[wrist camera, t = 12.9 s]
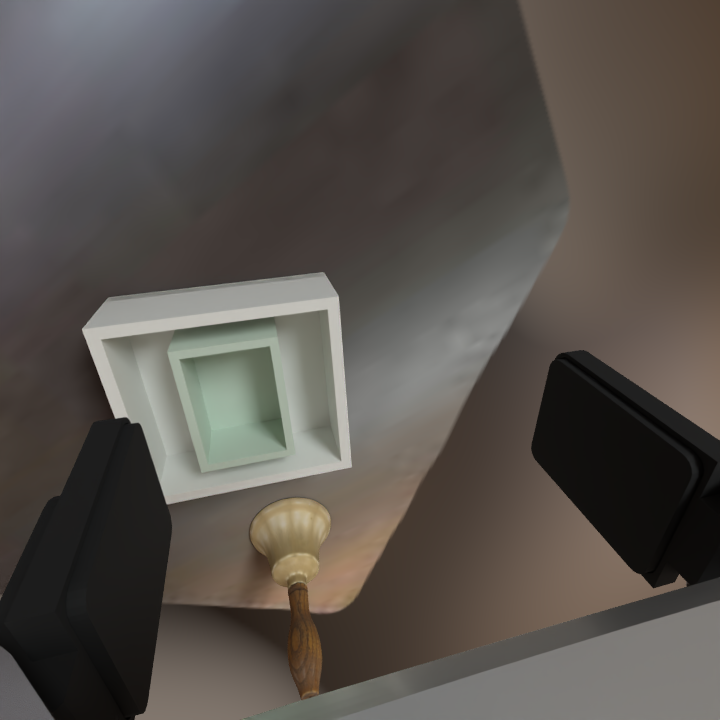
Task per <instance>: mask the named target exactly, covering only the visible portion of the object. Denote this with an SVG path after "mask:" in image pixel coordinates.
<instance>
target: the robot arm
mask: <svg viewBox="0 0 720 720" xmlns="http://www.w3.org/2000/svg"><path fill="white" fill-rule="evenodd" d="M531 449H532V454H533V456H534V458H535V460H536V461H537V462H538V463H539V464H540V466H541V467H542V468H543V469H544V470H545V471H546V472H547V473H548V475H549V476H550V477H551V478H552V479H553V480H554V481H555V482H556V484H557V485H558V486H559V487H560V488H561V490H562V491H563V492H564V493H565V494H566V495H567V496H568V498H569V499H570V500H571V501H572V502H573V503H574V504H575V505H576V507H577V508H578V509H579V510H580V511H581V512H582V514H583V515H584V516H585V517H586V518H587V519H588V520H589V522H590V523H591V524H592V525H593V526H594V527H595V528H596V529H597V531H598V532H599V533H600V534H601V535H602V536H603V538H604V539H605V540H606V541H607V542H608V543H609V544H610V546H611V547H612V548H613V549H614V550H615V551H616V552H617V554H618V555H619V556H620V557H621V558H622V559H623V560H624V562H626V564H627V565H628V566H629V567H630V568H631V569H632V570H633V571H634V572H636V573H638V574H641V575H642V576H643V577H644V578H645V580H646V581H647V582H648V583H649V584H650V585H651V586H652V587H653V588H656V587H660V586H663V585H666V584H670V583H673V582H675V581H676V579H677V577H678V575H679V574H680V575H681V576H682V577H683V578H684V579H685V580H686V581H687V584H686V585H687V587H684V588H681V589H678V590H674V591H671V592H667V593H664V594H660V595H657V596H654V597H650V598H647V599H643V600H639V601H636V602H632V603H629V604H625V605H622V606H618V607H615V608H612V609H608V610H605V611H601V612H598V613H594V614H591V615H587V616H584V617H581V618H577V619H574V620H570V621H567V622H564V623H560V624H557V625H553V626H550V627H547V628H543V629H540V630H537V631H533V632H529V633H526V634H523V635H519V636H516V637H513V638H509V639H506V640H502V641H499V642H496V643H492V644H489V645H486V646H482V647H479V648H475V649H472V650H469V651H465V652H462V653H458V654H455V655H451V656H448V657H445V658H441V659H438V660H435V661H432V662H428V663H425V664H422V665H418V666H415V667H411V668H408V669H405V670H401V671H398V672H395V673H392V674H388V675H385V676H382V677H378V678H375V679H372V680H368V681H365V682H362V683H358V684H355V685H352V686H348V687H345V688H341V689H338V690H335V691H331V692H328V693H325V694H322V695H318V696H315V697H311V698H308V699H305V700H301V701H298V702H295V703H292V704H289V705H285V706H283V707H279V708H276V709H273V710H270V711H267V712H264V713H260V714H257V715H254V716H251V717H248V718H245V719H242V720H720V440H718V439H716V438H715V437H713V436H712V435H711V434H709V433H707V432H706V431H705V430H703V429H702V428H700V427H699V426H697V425H696V424H694V423H693V422H691V421H690V420H688V419H687V418H685V417H684V416H682V415H681V414H679V413H678V412H676V411H675V410H673V409H672V408H670V407H669V406H667V405H666V404H664V403H663V402H661V401H660V400H658V399H657V398H655V397H654V396H652V395H651V394H650V393H648V392H647V391H645V390H643V389H642V388H641V387H639V386H638V385H636V384H635V383H633V382H632V381H630V380H629V379H627V378H626V377H624V376H623V375H621V374H620V373H618V372H617V371H615V370H614V369H612V368H611V367H609V366H608V365H606V364H605V363H603V362H602V361H600V360H599V359H597V358H596V357H594V356H593V355H591V354H590V353H589V352H587V351H584V350H579V351H572V352H566V353H561V354H559V355H558V356H557V357H556V358H555V360H554V361H552V363H551V364H550V367H549V372H548V376H547V381H546V385H545V389H544V393H543V398H542V402H541V406H540V411H539V415H538V419H537V424H536V428H535V432H534V437H533V441H532V447H531ZM171 534H172V523H171V517H170V513H169V510H168V507H167V504H166V501H165V497H164V494H163V491H162V488H161V485H160V482H159V479H158V476H157V473H156V469H155V466H154V463H153V460H152V457H151V454H150V451H149V448H148V445H147V441H146V438H145V435H144V432H143V429H142V426H141V425H140V423H132V424H131V422H130V420H129V419H128V418H127V417H123V418H116V419H109V420H102V421H96V422H94V423H93V425H92V426H91V429H90V431H89V433H88V435H87V438H86V440H85V442H84V444H83V447H82V449H81V451H80V453H79V456H78V458H77V460H76V462H75V465H74V467H73V469H72V471H71V474H70V476H69V478H68V480H67V483H66V485H65V487H64V489H63V492H62V494H61V496H56V497H53V498H52V499H50V500H49V501H48V502H47V504H46V506H45V507H44V509H43V511H42V513H41V515H40V518H39V520H38V522H37V524H36V526H35V528H34V530H33V532H32V534H31V537H30V539H29V541H28V543H27V545H26V547H25V549H24V551H23V553H22V556H21V558H20V560H19V562H18V564H17V566H16V568H15V570H14V572H13V575H12V577H11V579H10V581H9V583H8V585H7V587H6V589H5V592H4V594H3V596H2V598H1V600H0V720H134V719H135V715H139V714H142V713H144V712H145V710H146V707H147V703H148V697H149V689H150V683H151V676H152V668H153V661H154V654H155V647H156V640H157V633H158V626H159V619H160V611H161V605H162V598H163V591H164V584H165V576H166V569H167V562H168V555H169V548H170V541H171Z"/></svg>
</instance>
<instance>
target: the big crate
mask: <svg viewBox="0 0 720 720" xmlns="http://www.w3.org/2000/svg"><path fill="white" fill-rule="evenodd" d="M267 317H274V320H275V325H276V330H277V336H278V342H279V349H280V355H281V362H282V369H283V375H284V382H285V388H286V395H287V401H288V408H289V414H290V421H291V427H292V434H293V440H294V447H295V454H296V455H291V456H285V457H280V458H275V459H270V460H265V461H260V462H255V463H249V464H244V465H239V466H234V467H229V468H224V469H218V470H213V471H208V472H203V473H202V472H201V469H200V465H199V462H198V458H197V455H196V451H195V448H194V445H193V441H192V438H191V434H190V431H189V427H188V424H187V420H186V417H185V413H184V410H183V406H182V403H181V399H180V396H179V392H178V389H177V385H176V382H175V378H174V375H173V371H172V368H171V364H170V361H169V357H168V354H167V352H168V349H169V346H170V343H171V340H172V337H173V334H174V331H175V330H177V329H184V328H192V327H199V326H207V325H214V324H222V323H229V322H237V321H244V320H252V319H259V318H267ZM82 331H83V334H84V336H85V339H86V342H87V344H88V347H89V350H90V352H91V355H92V358H93V360H94V363H95V366H96V368H97V371H98V374H99V376H100V379H101V382H102V384H103V387H104V390H105V392H106V395H107V398H108V400H109V403H110V406H111V408H112V411H113V414H114V416H115V419H116V418H123V417H127V418H128V419H129V420H130V422H131V424H132V423H140V425H141V426H142V429H143V432H144V435H145V438H146V441H147V445H148V448H149V451H150V454H151V457H152V460H153V463H154V466H155V469H156V473H157V476H158V479H159V482H160V485H161V488H162V491H163V494H164V497H165V501H166V504H172V503H177V502H182V501H187V500H192V499H197V498H201V497H206V496H211V495H216V494H221V493H226V492H231V491H236V490H241V489H246V488H251V487H256V486H261V485H266V484H271V483H276V482H281V481H285V480H290V479H295V478H300V477H305V476H310V475H315V474H320V473H325V472H330V471H335V470H340V469H345V468H350V467H352V464H351V451H350V438H349V425H348V412H347V399H346V386H345V373H344V360H343V347H342V334H341V321H340V308H339V296H338V295H337V293H336V291H335V290H334V288H333V286H332V285H331V283H330V281H329V280H328V278H327V277H326V275H325V273H324V272H321V273H312V274H304V275H295V276H287V277H278V278H270V279H261V280H253V281H244V282H236V283H227V284H219V285H210V286H202V287H193V288H184V289H176V290H167V291H159V292H150V293H142V294H133V295H125V296H116V297H108V298H107V300H106V301H105V302H104V303H103V304H102V306H101V307H100V308H99V309H98V310H97V312H96V313H95V314H94V315H93V317H92V318H91V319H90V320H89V321H88V323H87V324H86V325H85V326H84V327H83V329H82Z"/></svg>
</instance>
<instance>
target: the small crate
mask: <svg viewBox="0 0 720 720" xmlns="http://www.w3.org/2000/svg"><path fill="white" fill-rule="evenodd" d="M167 354H168V357H169V361H170V364H171V368H172V371H173V375H174V378H175V382H176V385H177V389H178V392H179V396H180V399H181V403H182V406H183V410H184V413H185V417H186V420H187V424H188V427H189V431H190V434H191V438H192V441H193V445H194V448H195V451H196V455H197V458H198V462H199V465H200V469H201V472H202V473H203V472H208V471H213V470H218V469H224V468H229V467H234V466H239V465H244V464H249V463H255V462H260V461H265V460H270V459H275V458H280V457H285V456H291V455H296V454H295V447H294V440H293V434H292V427H291V421H290V414H289V408H288V401H287V395H286V388H285V382H284V375H283V369H282V362H281V355H280V349H279V342H278V336H277V330H276V325H275V320H274V317H267V318H259V319H252V320H244V321H237V322H229V323H222V324H214V325H207V326H199V327H192V328H184V329H177V330H175V331H174V334H173V337H172V340H171V343H170V346H169V349H168V352H167Z"/></svg>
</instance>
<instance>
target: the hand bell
mask: <svg viewBox="0 0 720 720" xmlns="http://www.w3.org/2000/svg"><path fill="white" fill-rule="evenodd" d="M330 527H331V518H330V515H329V513H328V511H327V510H326V508H325V507H324V506H322V505H321V504H319V503H318V502H316V501H314V500H311V499H307V498H287V499H282V500H279V501H276V502H274V503H272V504H270V505H268V506H267V507H265V508H264V509H262V510H261V511H260V512H259V513H258V514H257V515H256V517H255V518H254V520H253V521H252V523H251V527H250V539H251V542H252V543H253V545H254V547H255V548H256V549H257V550H258V551H259V552H260V553H261V554H263V555H265V556H267V559H268V561H269V565H270V569H271V574H272V578H273V579H274V581H275V582H276V583H277V584H279V585H281V586H283V587H288V596H289V602H290V608H291V625H290V630H289V636H288V660H289V666H290V671H291V674H292V677H293V679H294V682H295V684H296V686H297V688H298V691H299V694H300V697H301V700H305V699H308V698H311V697H315V696H318V694H319V682H320V676H321V668H322V651H321V644H320V640H319V636H318V633H317V630H316V627H315V625H314V623H313V621H312V619H311V616H310V612H309V604H308V594H307V592H308V589H307V583H309V582H310V581H312V580H313V579H314V578H315V576H316V575H317V573H318V571H319V549H320V546H321V545H322V543H323V542H324V541H325V539H326V538H327V536H328V534H329V531H330Z"/></svg>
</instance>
